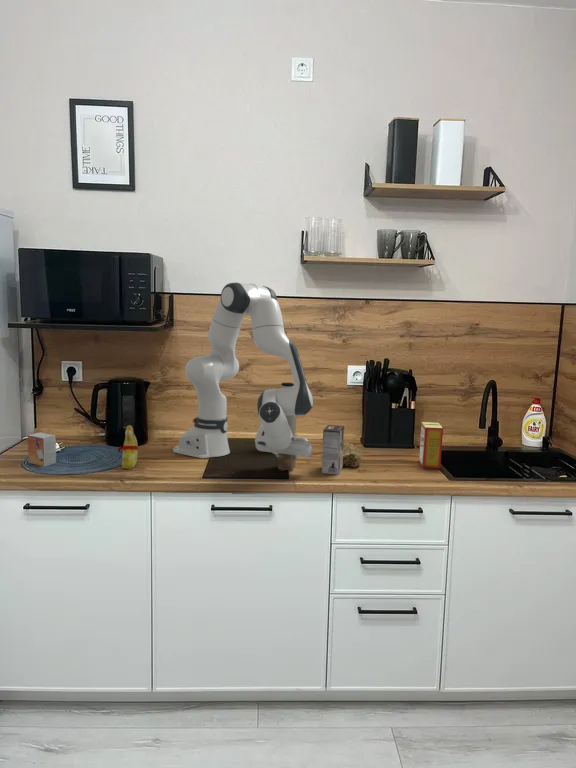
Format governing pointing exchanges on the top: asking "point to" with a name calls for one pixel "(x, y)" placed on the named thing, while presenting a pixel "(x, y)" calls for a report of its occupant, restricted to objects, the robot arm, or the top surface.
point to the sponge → (351, 455)
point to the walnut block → (286, 462)
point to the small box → (42, 449)
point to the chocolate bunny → (129, 449)
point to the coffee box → (332, 449)
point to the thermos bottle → (290, 418)
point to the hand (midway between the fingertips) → (287, 456)
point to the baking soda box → (430, 445)
